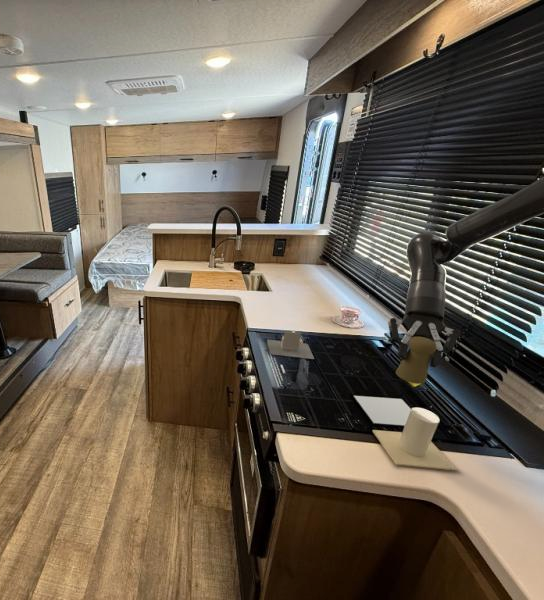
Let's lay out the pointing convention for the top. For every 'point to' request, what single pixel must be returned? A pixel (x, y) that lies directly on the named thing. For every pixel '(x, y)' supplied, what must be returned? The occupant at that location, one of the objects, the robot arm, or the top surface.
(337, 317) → the teacup
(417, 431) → the beige cylinder
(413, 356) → the cork
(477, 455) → the top surface
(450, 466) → the cream mat
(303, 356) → the architectural model
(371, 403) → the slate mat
